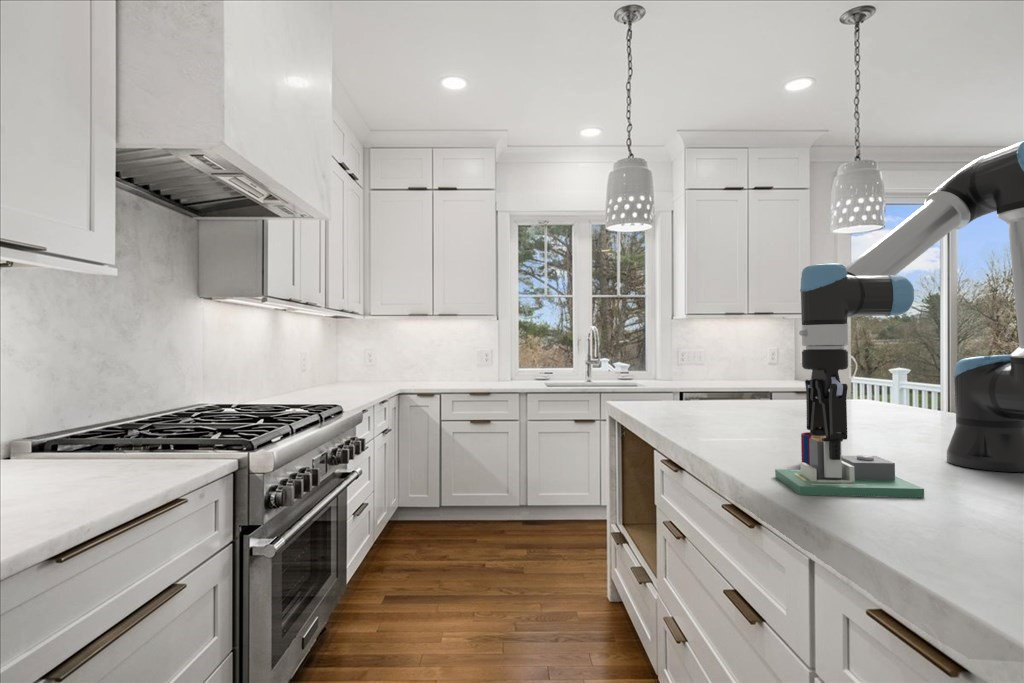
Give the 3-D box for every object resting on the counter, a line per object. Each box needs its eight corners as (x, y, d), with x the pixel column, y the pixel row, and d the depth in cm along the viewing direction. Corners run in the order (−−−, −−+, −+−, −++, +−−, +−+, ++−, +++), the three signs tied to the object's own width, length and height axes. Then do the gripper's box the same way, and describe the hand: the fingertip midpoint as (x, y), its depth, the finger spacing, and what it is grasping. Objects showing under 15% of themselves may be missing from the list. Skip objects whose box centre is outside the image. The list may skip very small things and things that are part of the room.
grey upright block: (835, 475, 110) (834, 436, 110) (844, 480, 106) (843, 439, 106) (809, 475, 110) (809, 436, 110) (818, 480, 106) (817, 439, 106)
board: (883, 478, 113) (883, 456, 113) (924, 497, 99) (923, 472, 99) (775, 476, 116) (774, 455, 116) (799, 494, 102) (799, 470, 102)
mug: (833, 463, 128) (833, 432, 128) (842, 473, 118) (841, 440, 118) (800, 462, 130) (799, 431, 130) (805, 471, 121) (805, 438, 121)
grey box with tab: (876, 471, 113) (876, 453, 113) (895, 479, 106) (894, 460, 106) (837, 470, 114) (837, 452, 114) (853, 479, 107) (853, 460, 107)
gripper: (787, 348, 118) (788, 463, 117) (821, 348, 100) (824, 484, 100) (826, 347, 117) (828, 463, 116) (869, 348, 99) (871, 485, 98)
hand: (826, 473), depth 108 cm, fingers open, 5 cm apart
